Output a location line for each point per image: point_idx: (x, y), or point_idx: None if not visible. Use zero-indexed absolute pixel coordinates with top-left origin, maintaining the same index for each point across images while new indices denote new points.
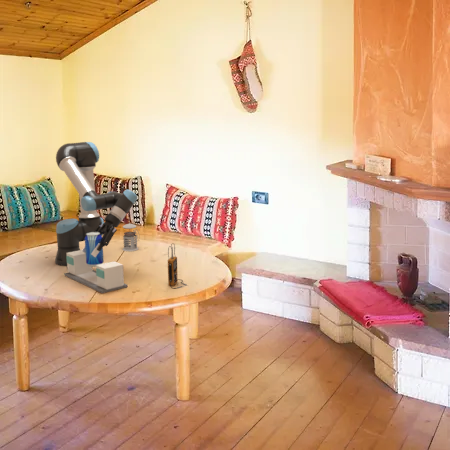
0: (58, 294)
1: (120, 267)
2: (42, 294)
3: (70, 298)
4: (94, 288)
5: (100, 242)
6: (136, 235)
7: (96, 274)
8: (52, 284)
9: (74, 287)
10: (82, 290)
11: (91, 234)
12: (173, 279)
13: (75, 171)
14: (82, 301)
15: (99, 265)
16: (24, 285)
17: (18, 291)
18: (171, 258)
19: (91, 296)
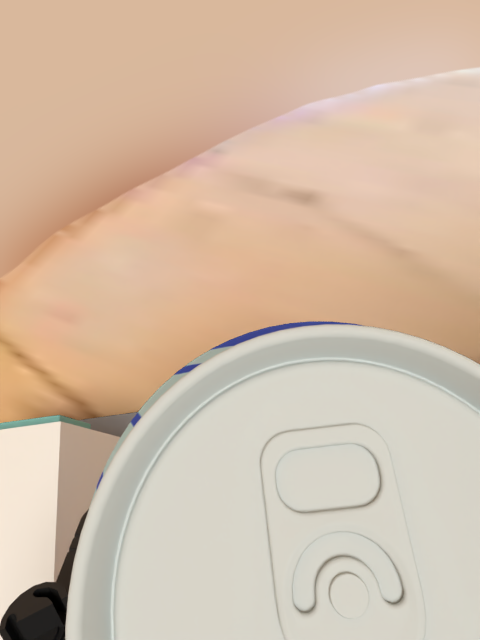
0: (186, 224)
1: None
2: (236, 165)
3: (87, 254)
4: (127, 415)
5: (12, 609)
6: None
7: (83, 423)
8: (381, 243)
9: (251, 329)
10: (167, 349)
11: (331, 504)
12: None
13: None
14: (3, 288)
15: (24, 445)
16: (438, 128)
17: (349, 93)
18: None
19: (36, 354)
